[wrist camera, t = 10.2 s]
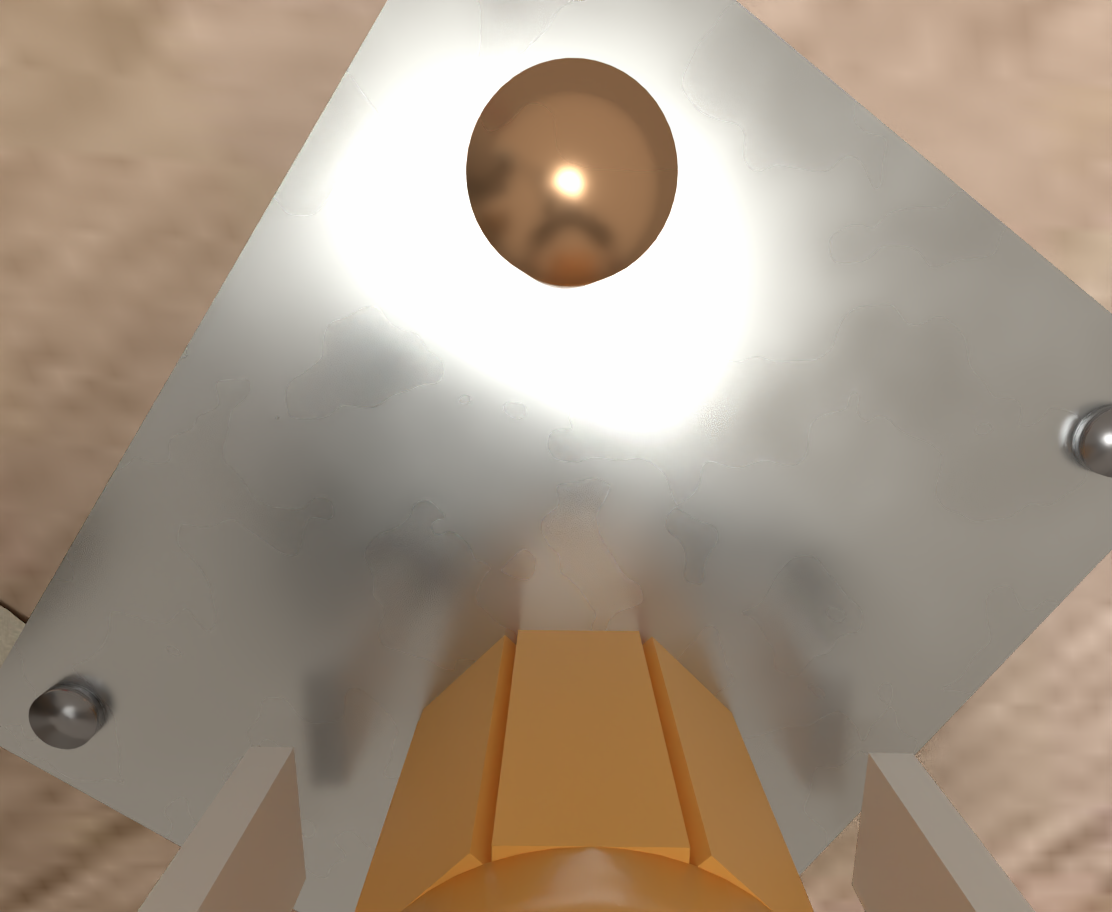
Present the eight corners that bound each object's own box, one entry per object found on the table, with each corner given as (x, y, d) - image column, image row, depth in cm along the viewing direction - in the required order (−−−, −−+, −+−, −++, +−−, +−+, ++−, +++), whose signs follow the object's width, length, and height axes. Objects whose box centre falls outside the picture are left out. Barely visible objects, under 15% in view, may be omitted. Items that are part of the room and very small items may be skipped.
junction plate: (59, 659, 15) (-338, 948, 9) (512, -96, 12) (451, -614, 5) (596, 970, 17) (620, 1407, 10) (1118, 397, 14) (1657, 494, 7)
